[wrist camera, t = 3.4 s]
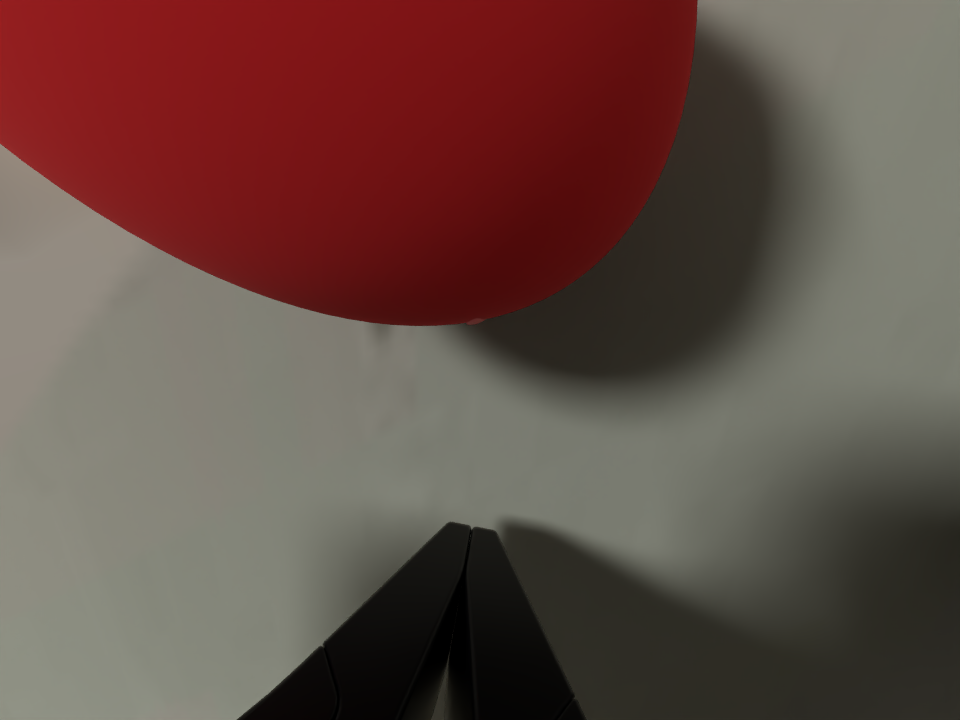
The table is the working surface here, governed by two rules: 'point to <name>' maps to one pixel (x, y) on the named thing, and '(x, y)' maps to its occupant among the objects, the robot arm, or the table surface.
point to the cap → (356, 138)
